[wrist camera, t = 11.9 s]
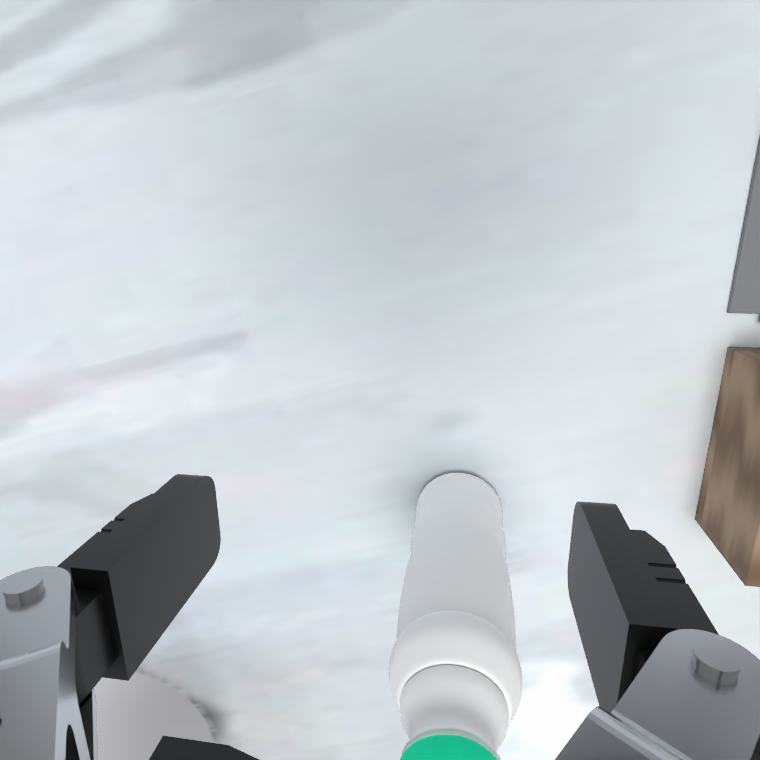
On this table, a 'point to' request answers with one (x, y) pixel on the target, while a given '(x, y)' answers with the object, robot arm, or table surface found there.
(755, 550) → the box
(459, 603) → the water bottle
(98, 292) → the table surface
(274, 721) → the table surface
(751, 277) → the mat
